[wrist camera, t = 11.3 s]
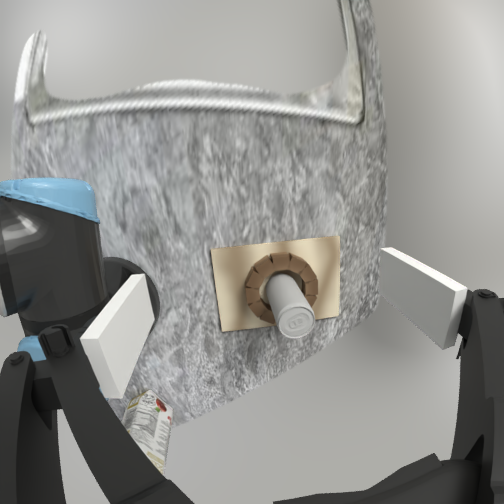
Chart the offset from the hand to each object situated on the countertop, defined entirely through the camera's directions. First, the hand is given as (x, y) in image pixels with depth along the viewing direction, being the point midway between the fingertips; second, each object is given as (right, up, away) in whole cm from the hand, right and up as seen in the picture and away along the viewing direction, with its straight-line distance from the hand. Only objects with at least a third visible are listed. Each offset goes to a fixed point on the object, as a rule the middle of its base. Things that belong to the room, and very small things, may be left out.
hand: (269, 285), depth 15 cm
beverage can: (+3, -4, +31) cm, 31 cm away
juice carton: (-21, -29, +36) cm, 51 cm away
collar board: (+3, -3, +31) cm, 31 cm away
